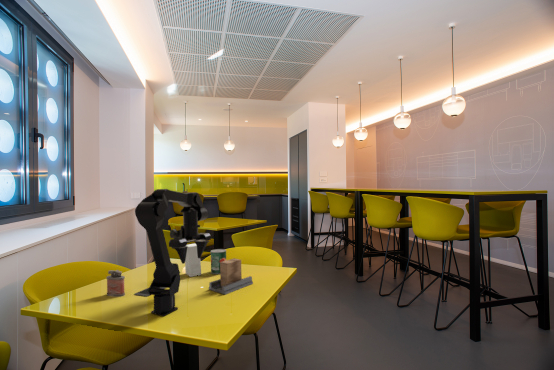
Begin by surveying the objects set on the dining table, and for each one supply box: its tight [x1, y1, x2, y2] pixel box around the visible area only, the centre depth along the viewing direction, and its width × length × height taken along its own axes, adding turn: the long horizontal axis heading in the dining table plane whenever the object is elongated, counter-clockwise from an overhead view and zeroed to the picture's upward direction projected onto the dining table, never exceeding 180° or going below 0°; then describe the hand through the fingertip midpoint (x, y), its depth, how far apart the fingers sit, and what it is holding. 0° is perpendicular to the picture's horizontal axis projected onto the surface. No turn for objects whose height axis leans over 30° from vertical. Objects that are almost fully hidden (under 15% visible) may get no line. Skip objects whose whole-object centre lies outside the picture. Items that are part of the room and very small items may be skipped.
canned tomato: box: [210, 248, 227, 275], centre depth 146 cm, size 8×8×11 cm
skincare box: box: [184, 243, 202, 278], centre depth 143 cm, size 8×6×15 cm
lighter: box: [106, 269, 126, 298], centre depth 117 cm, size 8×3×10 cm, turn 74°
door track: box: [208, 275, 254, 296], centre depth 123 cm, size 16×10×3 cm, turn 141°
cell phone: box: [133, 287, 167, 298], centre depth 121 cm, size 7×14×1 cm, turn 158°
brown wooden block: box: [219, 258, 243, 286], centre depth 123 cm, size 8×4×10 cm, turn 141°
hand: (191, 260), depth 117 cm, fingers open, 9 cm apart
